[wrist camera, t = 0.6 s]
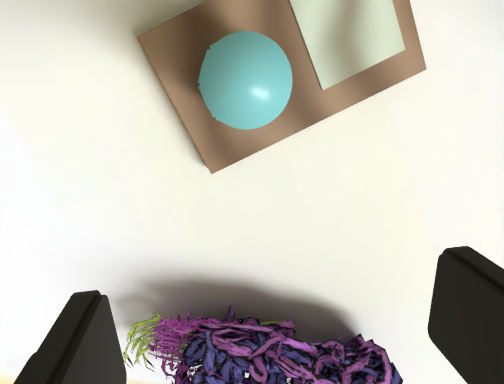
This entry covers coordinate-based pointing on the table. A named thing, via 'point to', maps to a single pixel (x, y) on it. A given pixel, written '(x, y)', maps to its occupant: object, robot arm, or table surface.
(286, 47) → the post board
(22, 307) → the table surface
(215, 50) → the teal cap
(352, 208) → the table surface
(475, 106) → the table surface
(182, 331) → the decorative ornament
